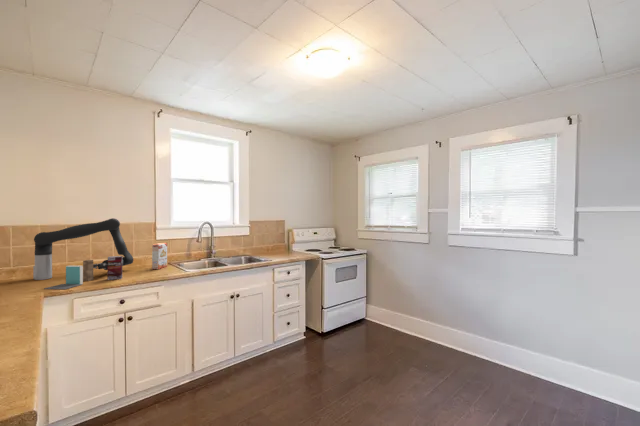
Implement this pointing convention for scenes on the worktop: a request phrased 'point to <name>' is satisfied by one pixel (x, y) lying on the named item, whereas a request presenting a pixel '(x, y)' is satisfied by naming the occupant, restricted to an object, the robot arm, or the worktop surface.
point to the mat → (63, 286)
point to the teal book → (74, 274)
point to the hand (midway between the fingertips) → (93, 267)
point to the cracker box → (159, 255)
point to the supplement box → (114, 267)
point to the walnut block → (87, 270)
